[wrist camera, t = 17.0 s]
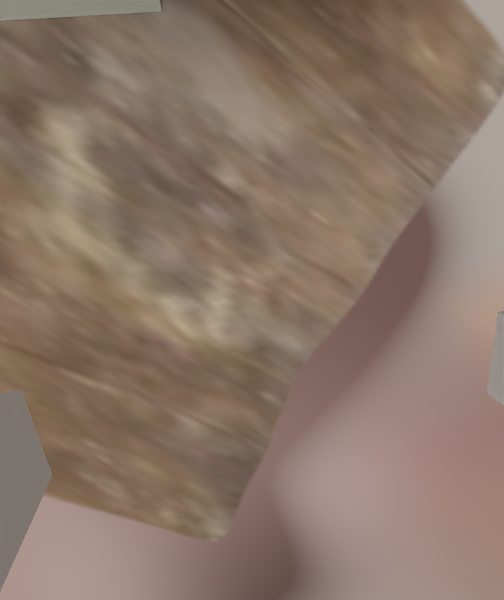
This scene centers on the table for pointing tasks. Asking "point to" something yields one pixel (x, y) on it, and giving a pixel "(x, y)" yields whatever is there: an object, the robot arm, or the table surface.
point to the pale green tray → (73, 8)
